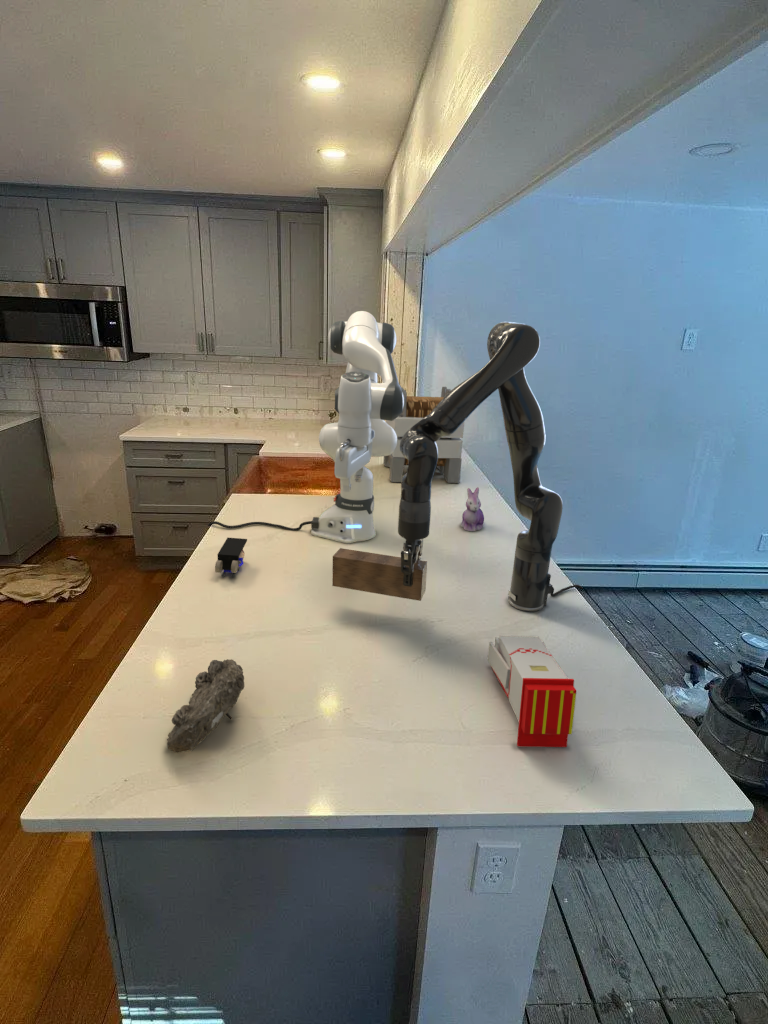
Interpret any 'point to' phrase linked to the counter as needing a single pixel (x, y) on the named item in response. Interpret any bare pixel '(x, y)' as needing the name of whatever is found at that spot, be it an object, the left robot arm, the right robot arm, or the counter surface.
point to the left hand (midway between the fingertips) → (352, 486)
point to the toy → (534, 690)
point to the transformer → (446, 445)
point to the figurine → (473, 512)
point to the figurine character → (230, 556)
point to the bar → (377, 574)
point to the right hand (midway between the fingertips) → (410, 579)
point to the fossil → (206, 705)
